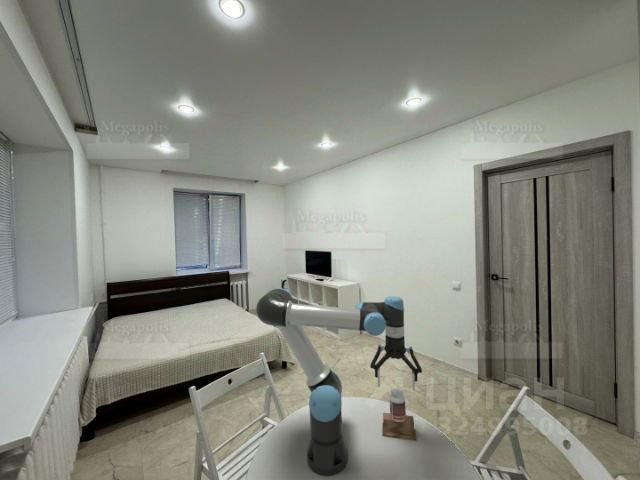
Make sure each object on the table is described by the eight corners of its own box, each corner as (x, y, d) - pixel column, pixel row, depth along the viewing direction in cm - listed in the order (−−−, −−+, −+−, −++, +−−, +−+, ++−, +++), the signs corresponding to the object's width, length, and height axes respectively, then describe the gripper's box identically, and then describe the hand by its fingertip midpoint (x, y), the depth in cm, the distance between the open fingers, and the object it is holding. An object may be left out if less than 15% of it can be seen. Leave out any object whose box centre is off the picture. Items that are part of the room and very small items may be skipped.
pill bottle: (409, 418, 107) (408, 391, 107) (399, 424, 104) (397, 397, 104) (397, 410, 113) (396, 384, 113) (387, 416, 109) (385, 389, 109)
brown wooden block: (382, 436, 106) (381, 421, 106) (382, 424, 113) (382, 410, 113) (416, 440, 103) (415, 425, 103) (414, 428, 110) (414, 413, 110)
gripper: (363, 336, 108) (364, 388, 108) (428, 340, 102) (430, 395, 102) (364, 330, 115) (365, 378, 115) (425, 333, 109) (427, 385, 109)
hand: (396, 386), depth 108 cm, fingers open, 13 cm apart
